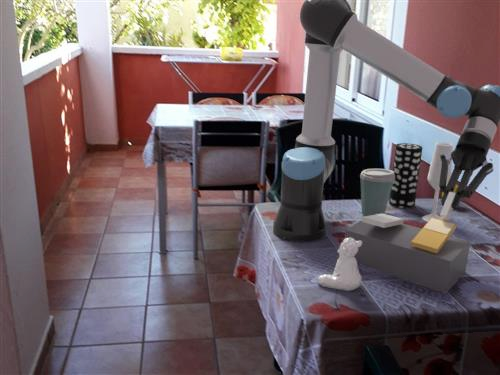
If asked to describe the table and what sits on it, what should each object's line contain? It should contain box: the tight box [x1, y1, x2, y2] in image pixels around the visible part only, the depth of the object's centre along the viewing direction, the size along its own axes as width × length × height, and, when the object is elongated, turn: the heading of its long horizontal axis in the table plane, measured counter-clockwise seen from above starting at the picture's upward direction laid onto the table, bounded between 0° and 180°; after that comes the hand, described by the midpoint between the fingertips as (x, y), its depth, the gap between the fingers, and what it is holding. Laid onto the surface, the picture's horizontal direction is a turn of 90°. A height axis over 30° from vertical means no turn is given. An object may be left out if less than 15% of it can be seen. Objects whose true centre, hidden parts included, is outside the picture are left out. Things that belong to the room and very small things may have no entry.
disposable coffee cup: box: [359, 168, 395, 217], centre depth 153 cm, size 11×11×15 cm
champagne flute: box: [421, 141, 454, 223], centre depth 150 cm, size 7×7×24 cm
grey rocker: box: [360, 213, 405, 228], centre depth 124 cm, size 12×6×1 cm, turn 140°
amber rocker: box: [411, 218, 457, 253], centre depth 116 cm, size 12×6×1 cm, turn 140°
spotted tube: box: [388, 142, 423, 209], centre depth 164 cm, size 8×8×20 cm
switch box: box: [344, 220, 471, 295], centre depth 122 cm, size 14×26×8 cm, turn 50°
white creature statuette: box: [317, 237, 363, 292], centre depth 112 cm, size 10×9×12 cm
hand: (444, 217), depth 119 cm, fingers closed
